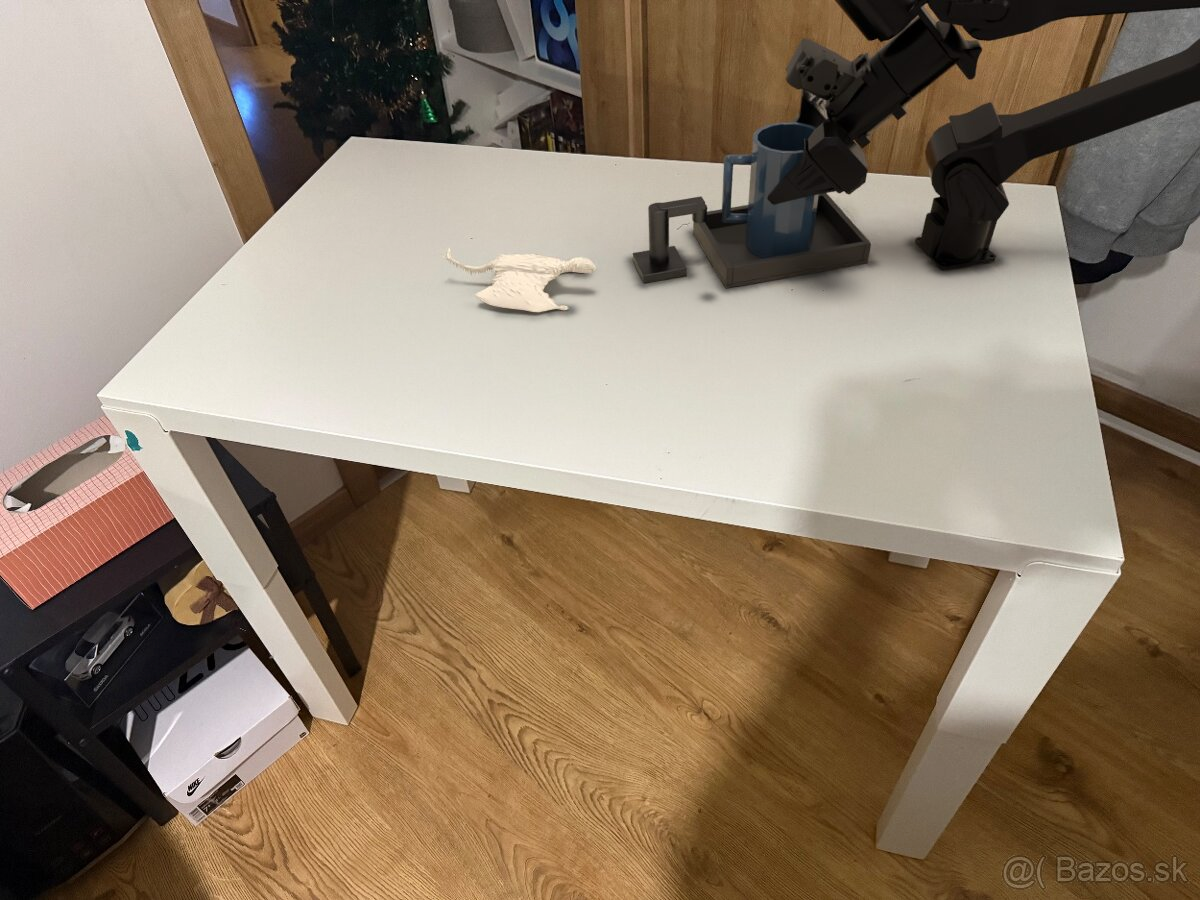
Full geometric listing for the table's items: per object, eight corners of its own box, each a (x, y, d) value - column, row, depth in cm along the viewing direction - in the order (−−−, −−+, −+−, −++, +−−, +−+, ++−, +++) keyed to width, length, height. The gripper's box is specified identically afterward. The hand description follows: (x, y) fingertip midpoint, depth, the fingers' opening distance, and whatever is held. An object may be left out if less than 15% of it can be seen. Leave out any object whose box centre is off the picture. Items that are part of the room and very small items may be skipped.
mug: (810, 227, 96) (824, 122, 87) (812, 262, 91) (827, 153, 82) (721, 226, 97) (726, 122, 89) (718, 259, 92) (723, 152, 83)
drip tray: (822, 210, 99) (825, 191, 98) (867, 263, 91) (871, 243, 89) (692, 232, 98) (693, 213, 96) (725, 288, 89) (727, 268, 87)
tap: (643, 283, 91) (641, 221, 85) (632, 260, 94) (630, 199, 89) (711, 271, 92) (714, 209, 86) (698, 249, 95) (700, 187, 90)
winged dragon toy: (428, 307, 90) (420, 274, 87) (459, 257, 97) (452, 226, 94) (587, 319, 86) (584, 286, 84) (607, 267, 93) (605, 235, 91)
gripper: (838, -19, 83) (723, 93, 92) (849, 47, 70) (714, 169, 79) (904, 62, 87) (788, 160, 96) (926, 138, 74) (789, 243, 83)
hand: (770, 180), depth 89 cm, fingers open, 9 cm apart
